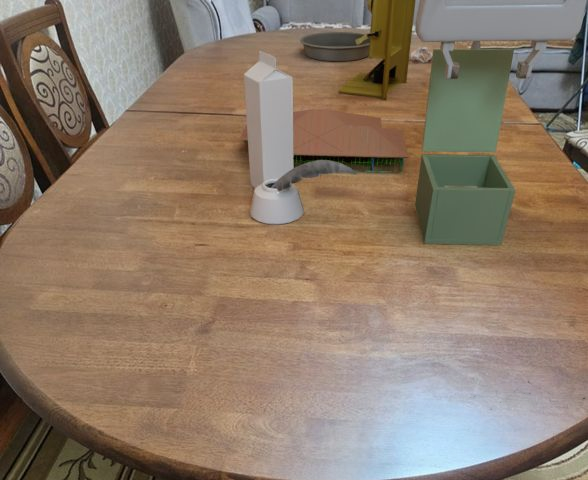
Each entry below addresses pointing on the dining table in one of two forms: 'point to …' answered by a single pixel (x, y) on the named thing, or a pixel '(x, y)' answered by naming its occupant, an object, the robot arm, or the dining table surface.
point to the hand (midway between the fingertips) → (486, 78)
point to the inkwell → (288, 192)
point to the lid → (467, 101)
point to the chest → (463, 199)
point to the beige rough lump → (421, 54)
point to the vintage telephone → (385, 48)
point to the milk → (269, 120)
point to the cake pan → (335, 46)
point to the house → (344, 136)
